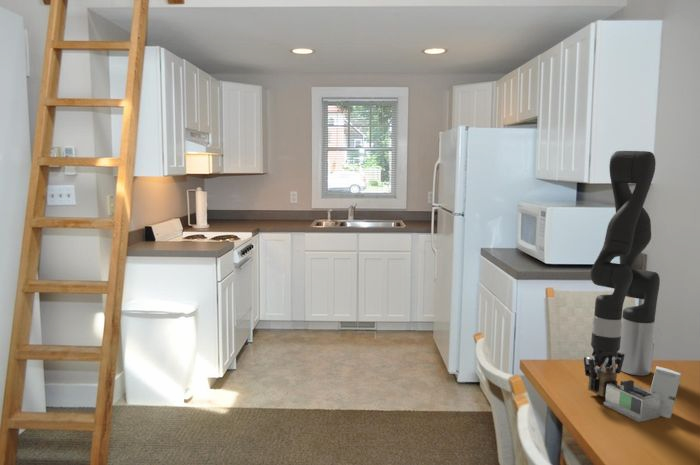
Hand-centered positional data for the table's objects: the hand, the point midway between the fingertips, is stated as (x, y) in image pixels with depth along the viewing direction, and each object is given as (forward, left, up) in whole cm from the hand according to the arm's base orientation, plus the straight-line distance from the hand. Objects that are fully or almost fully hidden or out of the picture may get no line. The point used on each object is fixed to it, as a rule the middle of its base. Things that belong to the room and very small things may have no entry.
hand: (601, 389), depth 156 cm
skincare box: (-6, +13, -3) cm, 15 cm away
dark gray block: (+3, +11, +4) cm, 12 cm away
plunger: (+1, +7, 0) cm, 7 cm away
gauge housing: (0, +9, -2) cm, 10 cm away
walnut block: (0, 0, -1) cm, 1 cm away
